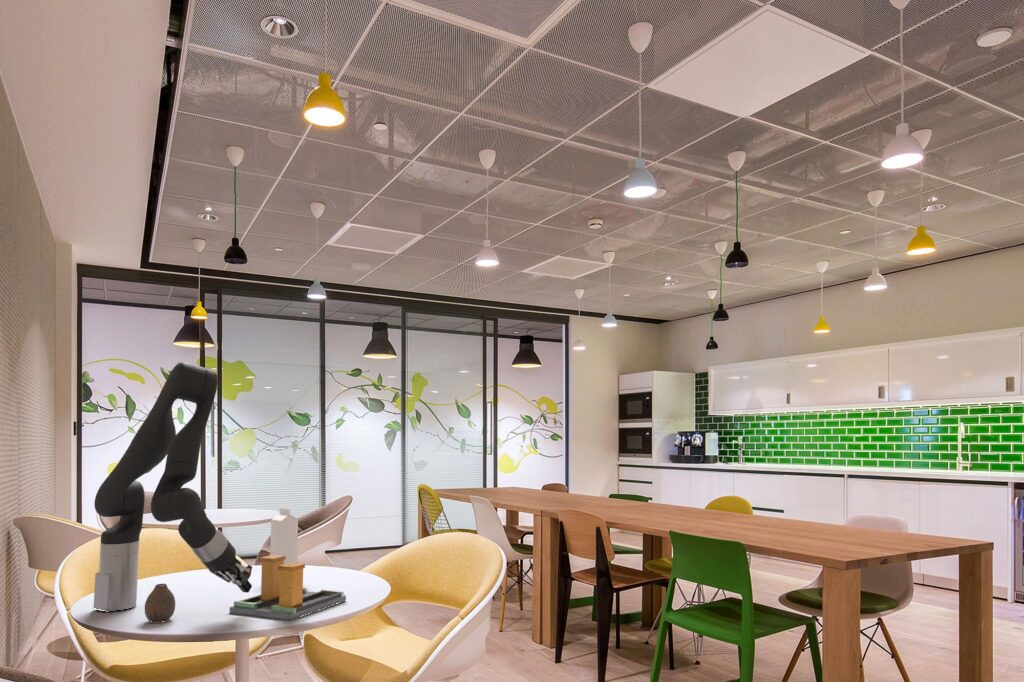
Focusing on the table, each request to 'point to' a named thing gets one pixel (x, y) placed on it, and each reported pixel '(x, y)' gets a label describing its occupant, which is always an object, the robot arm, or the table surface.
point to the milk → (284, 536)
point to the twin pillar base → (288, 598)
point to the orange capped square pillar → (271, 576)
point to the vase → (160, 604)
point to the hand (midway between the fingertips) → (247, 589)
